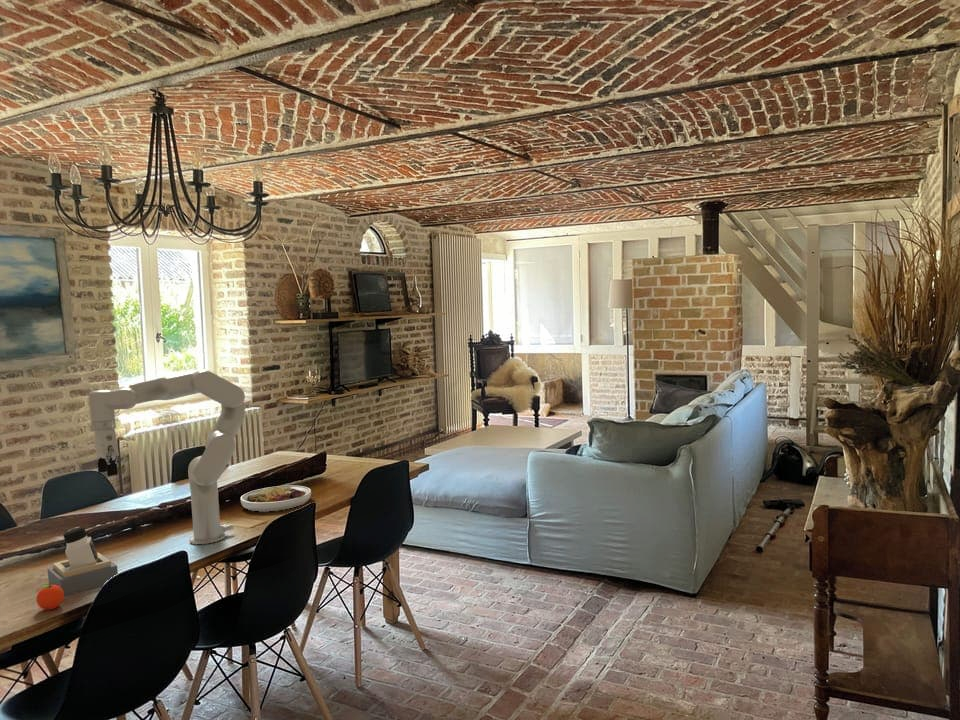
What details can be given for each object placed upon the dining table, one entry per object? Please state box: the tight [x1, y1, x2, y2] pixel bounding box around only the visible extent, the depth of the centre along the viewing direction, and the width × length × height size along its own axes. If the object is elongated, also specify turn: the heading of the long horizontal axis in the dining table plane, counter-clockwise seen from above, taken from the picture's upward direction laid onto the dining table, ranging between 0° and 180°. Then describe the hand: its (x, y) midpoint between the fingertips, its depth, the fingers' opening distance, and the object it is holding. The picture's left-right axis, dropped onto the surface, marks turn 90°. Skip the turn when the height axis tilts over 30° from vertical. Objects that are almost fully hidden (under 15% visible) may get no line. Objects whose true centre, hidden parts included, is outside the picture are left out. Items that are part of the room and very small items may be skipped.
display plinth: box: [46, 552, 119, 596], centre depth 225 cm, size 16×16×6 cm
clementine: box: [35, 584, 65, 611], centre depth 205 cm, size 8×7×7 cm
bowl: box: [240, 484, 312, 513], centre depth 312 cm, size 30×30×8 cm
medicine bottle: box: [63, 526, 98, 569], centre depth 225 cm, size 7×7×12 cm
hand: (107, 473), depth 247 cm, fingers open, 9 cm apart
